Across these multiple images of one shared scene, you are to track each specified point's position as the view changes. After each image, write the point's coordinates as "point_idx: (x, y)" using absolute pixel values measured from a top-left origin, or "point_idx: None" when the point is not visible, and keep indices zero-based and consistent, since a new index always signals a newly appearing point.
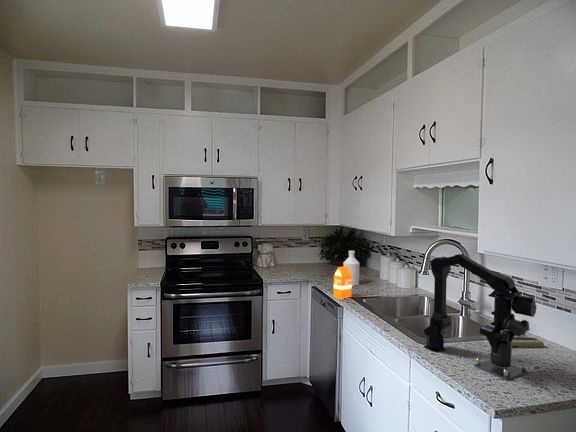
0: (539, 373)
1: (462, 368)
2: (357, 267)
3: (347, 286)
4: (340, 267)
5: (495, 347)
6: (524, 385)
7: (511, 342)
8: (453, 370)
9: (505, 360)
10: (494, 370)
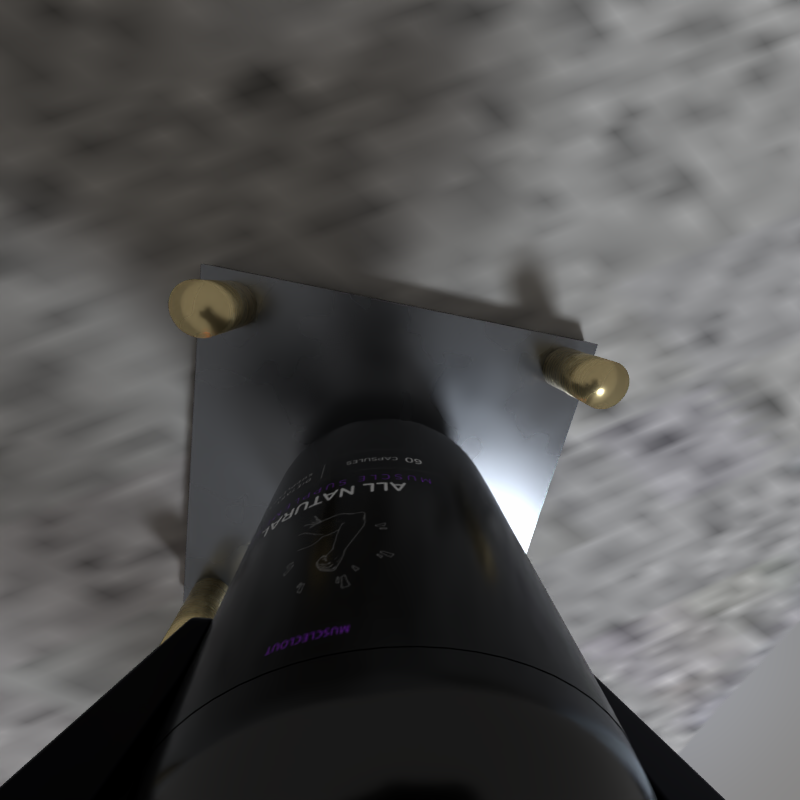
0: (88, 169)
1: (594, 644)
2: None
3: None
4: None
5: (680, 775)
6: (568, 176)
7: (9, 781)
8: (673, 656)
9: (476, 479)
10: (493, 491)
